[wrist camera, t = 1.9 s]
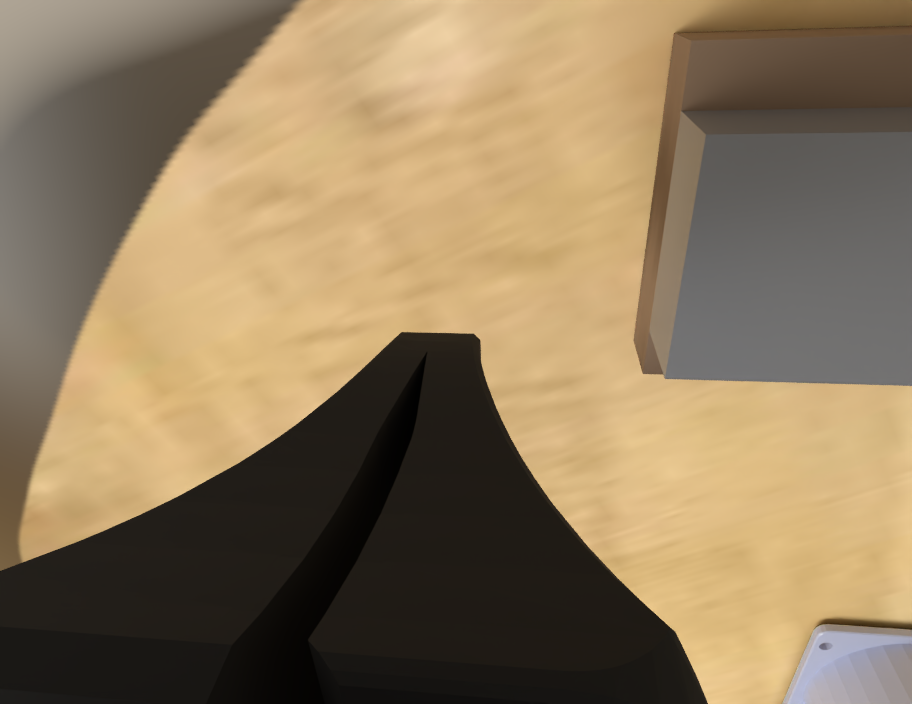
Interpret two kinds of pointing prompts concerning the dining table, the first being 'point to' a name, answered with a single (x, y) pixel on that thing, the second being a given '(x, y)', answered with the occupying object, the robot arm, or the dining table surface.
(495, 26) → the dining table surface
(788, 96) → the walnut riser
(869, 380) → the slate tile
